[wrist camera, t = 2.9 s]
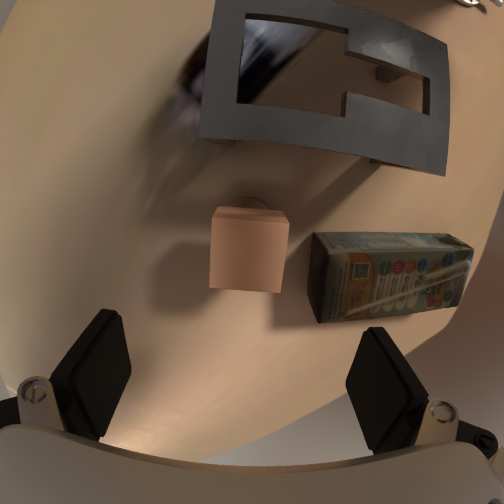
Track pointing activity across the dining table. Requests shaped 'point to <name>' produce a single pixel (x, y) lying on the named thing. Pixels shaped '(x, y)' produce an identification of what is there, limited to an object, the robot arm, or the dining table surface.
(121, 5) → the dining table surface
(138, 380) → the dining table surface
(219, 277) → the t peg
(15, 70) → the dining table surface
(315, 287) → the beverage carton
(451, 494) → the robot arm
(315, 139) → the keyhole rack
